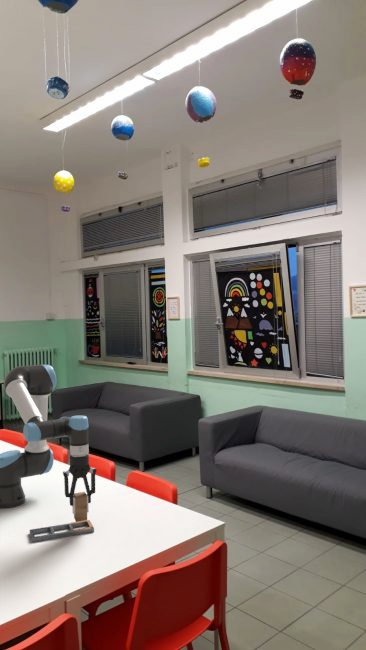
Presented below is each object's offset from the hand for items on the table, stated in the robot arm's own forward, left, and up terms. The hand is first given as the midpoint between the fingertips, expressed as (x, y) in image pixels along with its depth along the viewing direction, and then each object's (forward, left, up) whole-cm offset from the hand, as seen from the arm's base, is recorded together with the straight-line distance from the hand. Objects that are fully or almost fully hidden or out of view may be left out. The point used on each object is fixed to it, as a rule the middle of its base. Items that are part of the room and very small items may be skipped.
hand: (80, 512), depth 205 cm
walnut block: (0, 0, -3) cm, 3 cm away
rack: (0, -8, -7) cm, 10 cm away
